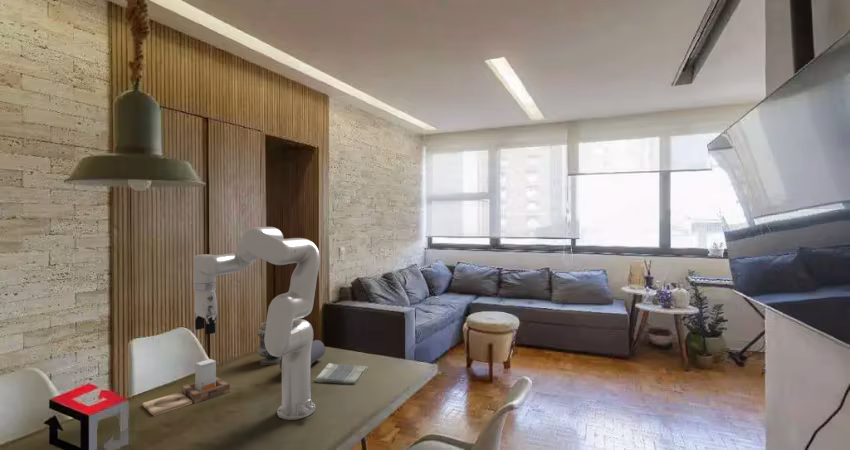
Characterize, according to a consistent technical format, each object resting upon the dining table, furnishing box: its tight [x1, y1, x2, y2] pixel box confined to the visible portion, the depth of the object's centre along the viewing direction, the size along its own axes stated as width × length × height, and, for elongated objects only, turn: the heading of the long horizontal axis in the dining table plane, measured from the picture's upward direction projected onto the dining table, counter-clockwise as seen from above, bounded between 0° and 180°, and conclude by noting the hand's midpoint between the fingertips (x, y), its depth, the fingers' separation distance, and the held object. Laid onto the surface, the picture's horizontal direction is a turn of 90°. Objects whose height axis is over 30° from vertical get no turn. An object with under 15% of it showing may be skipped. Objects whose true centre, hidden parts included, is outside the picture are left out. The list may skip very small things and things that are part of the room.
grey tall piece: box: [256, 321, 282, 366], centre depth 190 cm, size 12×12×18 cm
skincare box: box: [194, 358, 217, 392], centre depth 155 cm, size 6×4×12 cm
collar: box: [181, 376, 231, 404], centre depth 155 cm, size 13×13×3 cm
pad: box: [142, 391, 193, 417], centre depth 146 cm, size 12×12×1 cm
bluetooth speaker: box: [279, 339, 326, 371], centre depth 181 cm, size 23×9×10 cm, turn 162°
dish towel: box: [314, 362, 369, 386], centre depth 173 cm, size 19×18×3 cm
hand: (205, 331), depth 155 cm, fingers open, 9 cm apart
